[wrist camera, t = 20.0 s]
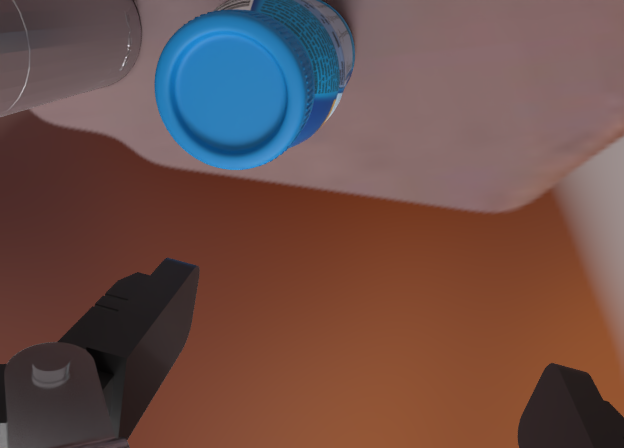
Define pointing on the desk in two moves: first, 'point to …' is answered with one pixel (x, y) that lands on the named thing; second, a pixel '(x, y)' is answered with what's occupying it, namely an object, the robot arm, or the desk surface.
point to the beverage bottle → (253, 79)
